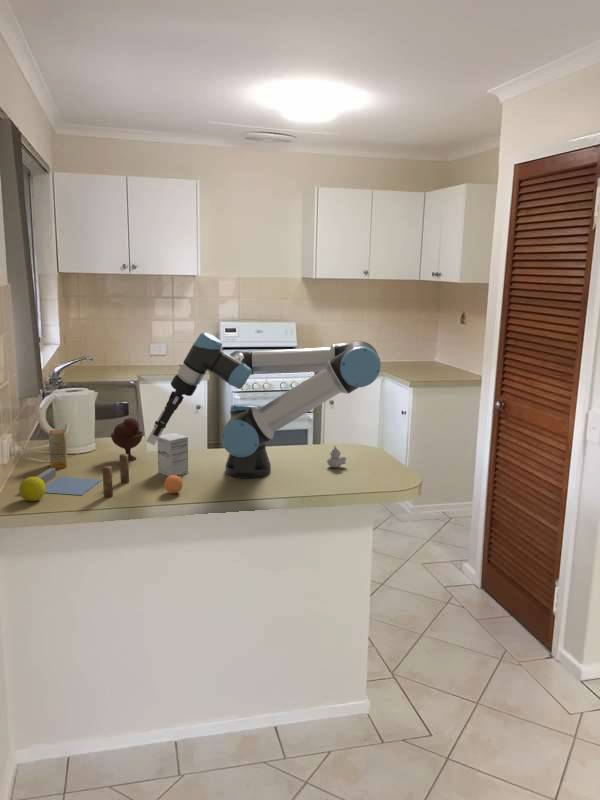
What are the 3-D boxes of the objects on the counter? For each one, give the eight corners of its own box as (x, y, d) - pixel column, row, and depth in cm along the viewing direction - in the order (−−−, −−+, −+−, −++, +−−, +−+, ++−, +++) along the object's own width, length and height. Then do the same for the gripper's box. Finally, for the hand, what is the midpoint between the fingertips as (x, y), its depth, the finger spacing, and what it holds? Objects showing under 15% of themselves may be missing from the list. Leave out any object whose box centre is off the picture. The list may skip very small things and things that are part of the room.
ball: (185, 490, 200) (184, 473, 199) (179, 496, 195) (179, 479, 194) (167, 489, 201) (167, 472, 200) (161, 495, 196) (161, 477, 194)
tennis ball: (42, 504, 187) (40, 481, 185) (16, 504, 186) (14, 481, 185) (49, 495, 194) (47, 473, 192) (24, 496, 193) (23, 473, 192)
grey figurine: (325, 465, 227) (326, 443, 226) (344, 464, 228) (345, 442, 226) (328, 470, 222) (329, 447, 220) (347, 469, 223) (348, 447, 221)
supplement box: (157, 472, 216) (156, 436, 213) (175, 468, 221) (174, 432, 219) (170, 478, 211) (169, 440, 208) (189, 473, 216) (188, 436, 214)
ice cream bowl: (134, 453, 237) (132, 413, 234) (149, 460, 229) (148, 418, 226) (106, 458, 230) (104, 417, 226) (122, 466, 222) (120, 423, 218)
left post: (114, 495, 195) (113, 466, 193) (110, 498, 193) (109, 469, 191) (106, 494, 195) (104, 465, 194) (102, 497, 193) (101, 468, 191)
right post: (130, 481, 207) (129, 454, 205) (127, 483, 205) (126, 456, 203) (122, 480, 208) (121, 453, 206) (119, 483, 205) (118, 456, 203)
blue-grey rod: (55, 476, 211) (55, 468, 210) (29, 493, 195) (28, 485, 195) (50, 475, 211) (49, 468, 211) (23, 492, 196) (22, 484, 195)
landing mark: (101, 480, 208) (101, 479, 208) (81, 495, 194) (81, 494, 194) (60, 477, 210) (60, 476, 210) (37, 492, 196) (37, 491, 196)
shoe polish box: (67, 463, 224) (65, 429, 221) (66, 467, 219) (64, 433, 217) (52, 464, 223) (49, 430, 220) (50, 468, 218) (48, 434, 215)
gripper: (181, 363, 211) (149, 417, 215) (170, 383, 187) (135, 443, 192) (201, 375, 212) (169, 428, 217) (193, 396, 189) (158, 455, 193)
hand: (153, 435), depth 204 cm, fingers open, 13 cm apart
